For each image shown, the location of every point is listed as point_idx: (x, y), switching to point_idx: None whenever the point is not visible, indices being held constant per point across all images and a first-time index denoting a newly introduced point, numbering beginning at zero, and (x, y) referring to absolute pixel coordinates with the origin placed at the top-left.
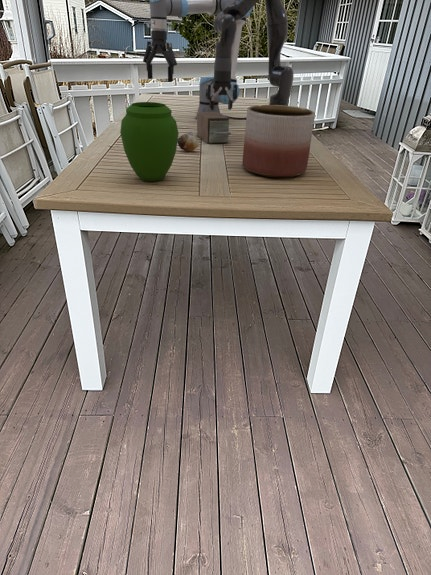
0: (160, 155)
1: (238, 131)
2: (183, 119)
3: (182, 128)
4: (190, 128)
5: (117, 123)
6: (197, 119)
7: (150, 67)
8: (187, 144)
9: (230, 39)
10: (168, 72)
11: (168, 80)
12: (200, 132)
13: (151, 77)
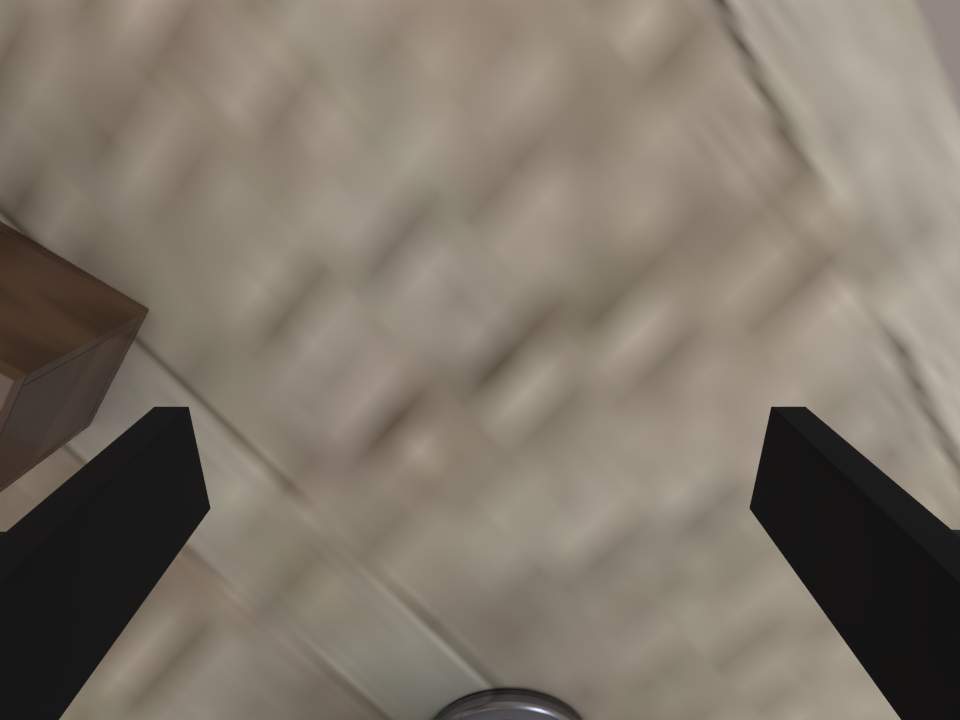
0: None
1: None
2: (618, 640)
3: (410, 420)
4: (371, 461)
5: (954, 161)
6: (61, 349)
7: (920, 654)
8: None
9: None
10: (36, 522)
11: (160, 416)
12: (28, 266)
13: (767, 496)
